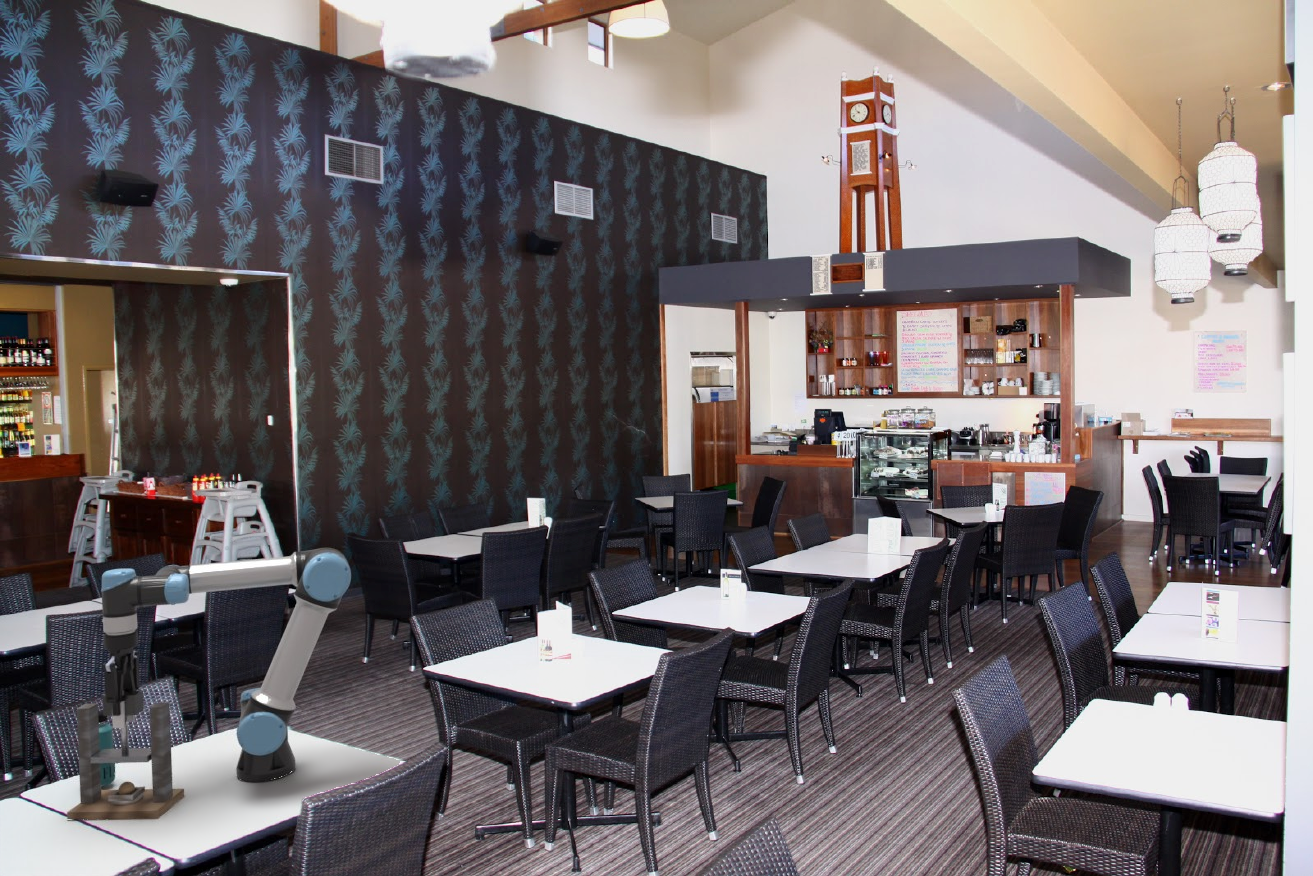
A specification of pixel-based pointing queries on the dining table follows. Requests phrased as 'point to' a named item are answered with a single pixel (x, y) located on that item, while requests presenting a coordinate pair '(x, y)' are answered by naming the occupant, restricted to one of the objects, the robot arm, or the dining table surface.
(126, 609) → the robot arm
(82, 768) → the press frame
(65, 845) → the dining table surface
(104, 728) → the beverage bottle
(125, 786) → the walnut
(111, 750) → the crusher
